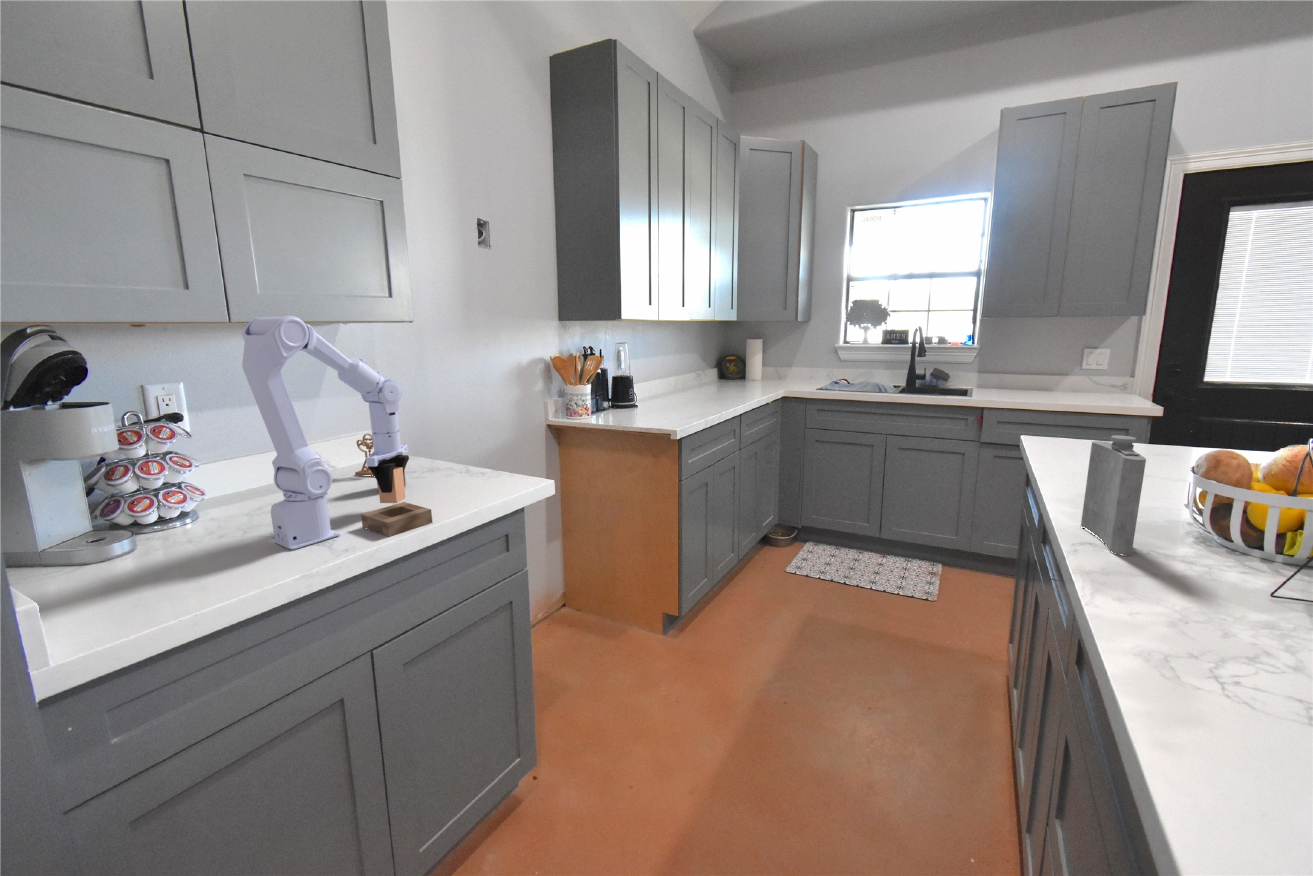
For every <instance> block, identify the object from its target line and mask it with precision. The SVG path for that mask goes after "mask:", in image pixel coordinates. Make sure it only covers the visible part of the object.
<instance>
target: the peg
mask: <svg viewBox="0 0 1313 876" xmlns="http://www.w3.org/2000/svg"><path fill="white" fill-rule="evenodd" d="M378 488H379V489H378ZM377 489H378V495H379V496H378V497H379V503H380V504H399V503H401V501H404V500H405V499H406V486H405V487H404V477H403V468H402V467H394V470H393V476H392V492H391V493H382V492H381V489H380V487H379V484H378V486H377Z"/></svg>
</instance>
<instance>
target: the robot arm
mask: <svg viewBox="0 0 1313 876" xmlns="http://www.w3.org/2000/svg"><path fill="white" fill-rule="evenodd" d="M241 336H242V339H243V341H244V346H243V353H242V364H241V365H242V370H243V372H244V376H245V378H246V380H247V383H248V385H249V387H250V390H251V392H252V396H253V397H254V401H255V402H256V404H257V407H258V410H259V414H260V415H261V417H262V420H263V422H264V425H265V427H266V429H267V432H268V434H269V437H270V440H271V442H272V445H273V447H274V451H275V453H276V456H275V457H274V459H273V460H272V461H271V463H272V467H273V471H274V472H273V483H274V485H275V487H276V488H277V489H278V490H280V491H281V492H282V497H284V499H282V500H281V501H278V502H275V503H273V504H272V505H271V507H270V518H271V522H272V523H271V524H272V529H273V536H274V539H273V543H275V544H277V545H279V546H282V547H285V548H287V549H289V550H296V549H300V548H303V547H306V546H309V545H312V544H315V543H319V542H323V541H325V540H326V541H327V540H329V539H333V538H337V537H339V536H341V532H340V531H336V530H333V529H331V528H332V526H331V521H330V520H331V519H330V513H329V505H328V504H329V503H328V497H327V496H328V493H329V492H328V491H329V490H330V489H331V486H332V484H333V474H332V472H331V470H330V469H329V468H328V467H327V466H325V464H324V462H323V461H322V458H321V457H320V455H318V454H317V453H316V452H315V451H314V450H313V449H312V448H310V446H309V444H308V441H307V437H306V436H305V434H304V431H303V427H302V424H301V422H300V420H299V417H298V415H297V412H296V408H295V406H294V404H293V401H292V398H291V396H290V394H289V391H288V388H287V385H286V382H285V380H284V377H283V375H282V369H283V367H284V366H285V364H286V362H287V361H289V360H290V358H292V357H293V356H294V355H295V354H297V353H298V352H299V351H300V352H305V353H307V354H308V355H310V356H312V358H313V357H314V358H315V359H316V360H318V361H320V362H322V364H325V365H327V366H328V367H330V368H331V369H333V370H335V371H336V372H337V378H338V380H340V381H341V382H343V383H344V384H346V385H347V386H348V387H350V388H352V389H353V390H354V391H356V392H357V393H359V394H360V396H361V398H362V400H363V401H364V403H368V410H369V417H370V428H371V435H372V439H373V451H372V453H370V454H371V455H370V456H369V455H368V457H367V458H365V459H366V467H368V468H369V470H370V471H371V472H372V473H373V475H374V476H375V477H374V478H375V480H376V483H377V482H378V484H379V487H380V489H381V492H382V493H391V492H392V476H393V470H394V467H402V468H403V475H404V470H406V467H407V464H408V461H409V460H410V456H409V455H407V453H408V452H409V448H408V447H409V446H408V444H407V443H405V444H404V443H401V433H400V423H399V414H398V412H399V409H400V407H399V403H400V401H401V398H402V394H403V391H402V390H400V387H399V385H398V384H397V382H395V381H394V380H393V379H391V378H390V379H387V378H384V377H383V374H382V373H381V372H379V371H376V370H374V369H372V368H371V367H370V366H369V365H367V361H366V360H365V359H363V358H357V357H353V358H349V357H347V356H346V355H345V354H343V353H342V352H340V351H339V349H337V348H335V346H333V345H332V344H331V343H330V342H329V341H327V339H324V338H323V337H322V336H321V335H320V334H318V333H317V332H316V331H315V329H314V328H313V326H312V325H310V324H307V323H305V322H304V321H303V320H302V319H301V318H299V317H298V316H294V315H284V316H255V317H254V318H251V320H250V321H249V322H248V323H247V325H246V326H245V327H244V329H243V330H242V331H241Z"/></svg>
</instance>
